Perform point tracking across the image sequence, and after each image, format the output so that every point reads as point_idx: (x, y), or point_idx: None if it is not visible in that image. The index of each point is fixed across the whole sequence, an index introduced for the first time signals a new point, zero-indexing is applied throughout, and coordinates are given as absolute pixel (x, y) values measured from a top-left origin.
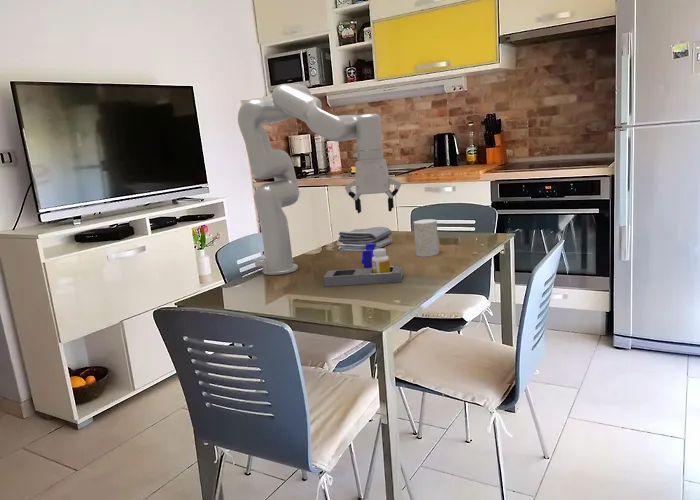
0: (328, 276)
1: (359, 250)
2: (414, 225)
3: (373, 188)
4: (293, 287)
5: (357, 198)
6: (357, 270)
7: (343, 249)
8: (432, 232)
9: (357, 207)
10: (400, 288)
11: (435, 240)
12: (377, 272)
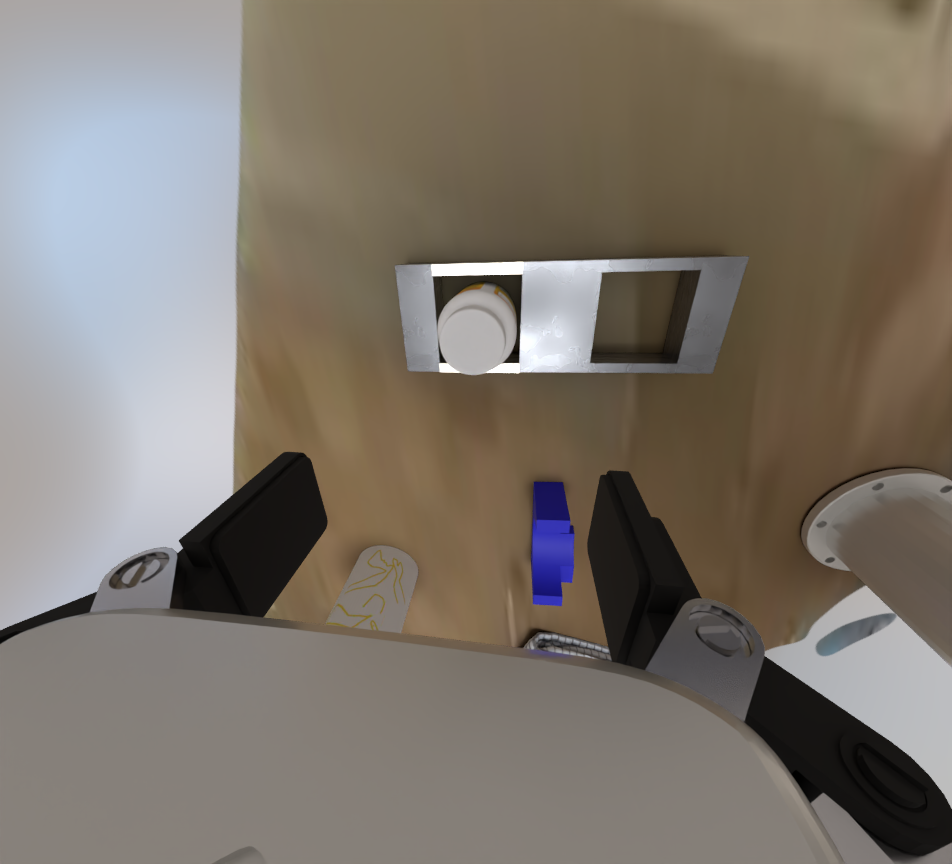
0: (721, 268)
1: (584, 642)
2: None
3: (232, 762)
4: (871, 269)
5: (676, 625)
6: (583, 347)
7: None
8: (336, 609)
9: (642, 509)
10: (392, 163)
11: (343, 588)
12: (493, 287)
